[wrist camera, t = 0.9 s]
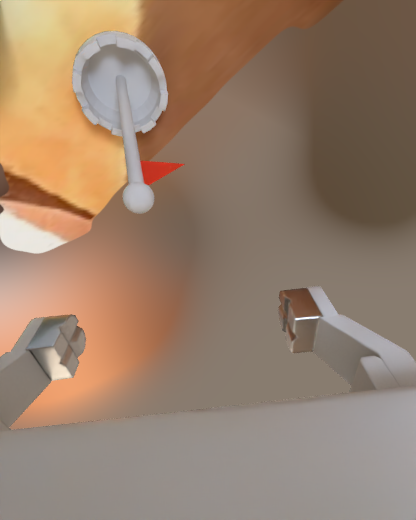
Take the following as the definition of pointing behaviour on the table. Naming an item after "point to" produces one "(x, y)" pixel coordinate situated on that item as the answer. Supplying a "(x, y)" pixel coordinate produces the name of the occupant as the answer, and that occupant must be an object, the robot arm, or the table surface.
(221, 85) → the table surface
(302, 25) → the table surface
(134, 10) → the table surface
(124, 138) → the flag stand
